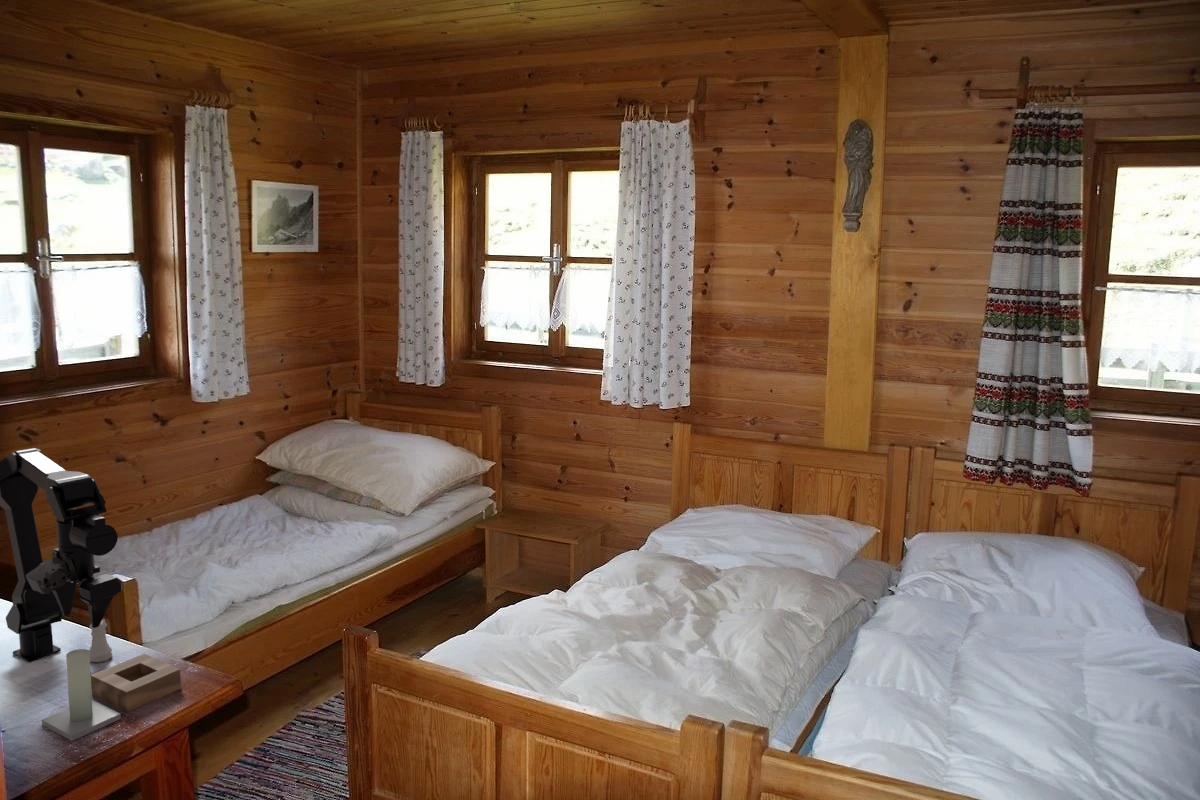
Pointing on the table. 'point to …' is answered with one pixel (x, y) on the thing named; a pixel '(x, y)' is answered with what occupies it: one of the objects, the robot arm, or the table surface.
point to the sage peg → (79, 685)
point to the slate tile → (78, 729)
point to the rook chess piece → (99, 644)
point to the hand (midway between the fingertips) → (81, 621)
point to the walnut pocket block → (135, 682)
